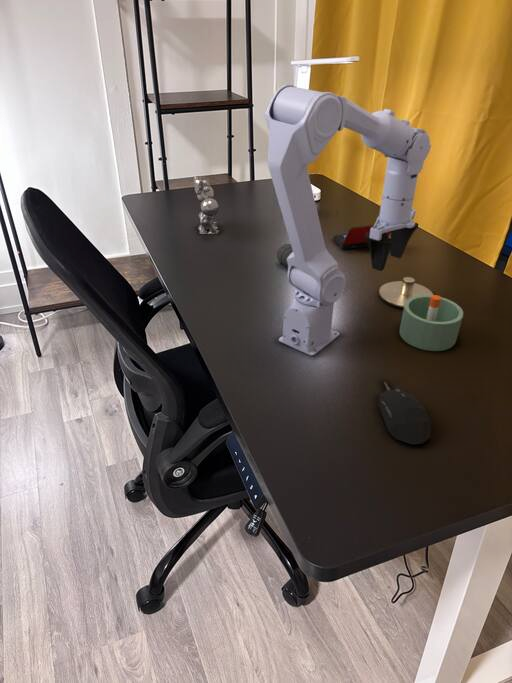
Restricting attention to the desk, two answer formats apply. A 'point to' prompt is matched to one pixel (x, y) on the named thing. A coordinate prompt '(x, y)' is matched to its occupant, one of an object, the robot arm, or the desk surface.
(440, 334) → the canister
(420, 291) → the canister lid
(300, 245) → the robot arm
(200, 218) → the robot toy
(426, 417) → the gaming mouse
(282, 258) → the flashlight
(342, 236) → the handheld console
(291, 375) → the desk surface
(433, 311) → the marker
